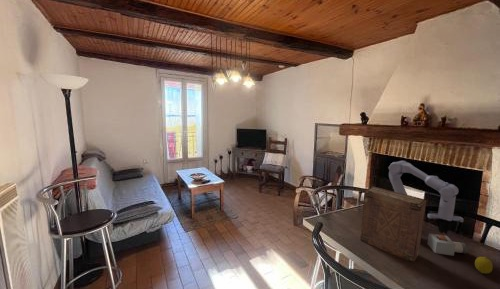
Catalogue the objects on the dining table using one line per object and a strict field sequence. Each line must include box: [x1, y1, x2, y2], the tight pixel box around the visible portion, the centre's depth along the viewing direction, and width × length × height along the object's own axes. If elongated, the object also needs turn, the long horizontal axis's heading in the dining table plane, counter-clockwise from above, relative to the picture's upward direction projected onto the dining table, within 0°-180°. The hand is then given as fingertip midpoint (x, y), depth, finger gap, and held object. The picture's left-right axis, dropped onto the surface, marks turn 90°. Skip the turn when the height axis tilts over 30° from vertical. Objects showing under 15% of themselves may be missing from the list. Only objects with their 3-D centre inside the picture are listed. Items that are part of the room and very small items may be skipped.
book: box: [360, 186, 427, 264], centre depth 116 cm, size 25×9×30 cm, turn 41°
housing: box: [427, 233, 456, 257], centre depth 116 cm, size 8×8×6 cm
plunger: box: [437, 233, 447, 240], centre depth 115 cm, size 3×3×1 cm
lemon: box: [474, 256, 493, 274], centre depth 99 cm, size 6×6×8 cm
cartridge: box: [442, 240, 469, 254], centre depth 115 cm, size 13×5×5 cm, turn 75°
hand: (442, 232), depth 115 cm, fingers closed
